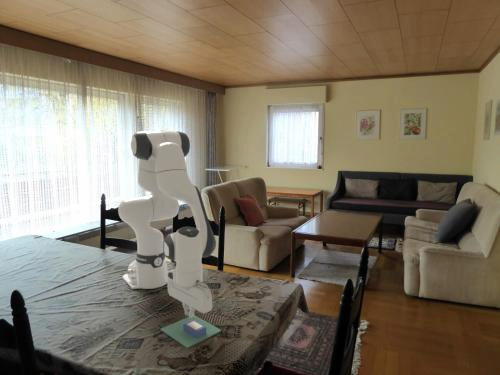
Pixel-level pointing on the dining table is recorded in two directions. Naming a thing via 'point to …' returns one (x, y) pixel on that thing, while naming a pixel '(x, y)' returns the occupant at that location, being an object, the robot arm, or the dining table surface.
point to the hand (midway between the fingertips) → (189, 315)
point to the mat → (185, 338)
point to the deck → (194, 328)
